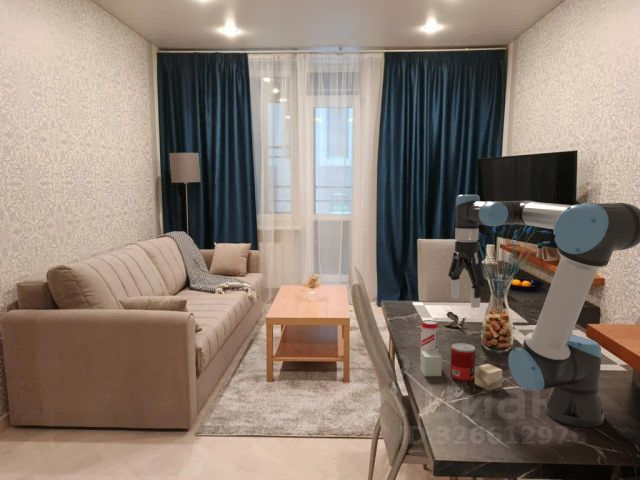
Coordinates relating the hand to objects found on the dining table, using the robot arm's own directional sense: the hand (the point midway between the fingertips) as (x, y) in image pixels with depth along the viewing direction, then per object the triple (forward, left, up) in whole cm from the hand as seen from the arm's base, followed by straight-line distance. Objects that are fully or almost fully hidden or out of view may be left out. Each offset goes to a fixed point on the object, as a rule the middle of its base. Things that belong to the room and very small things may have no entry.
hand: (464, 302), depth 166 cm
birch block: (-9, -5, -27) cm, 28 cm away
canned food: (-1, 0, -27) cm, 27 cm away
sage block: (+5, +9, -26) cm, 29 cm away
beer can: (+13, +6, -27) cm, 30 cm away
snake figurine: (+54, -25, -27) cm, 65 cm away
